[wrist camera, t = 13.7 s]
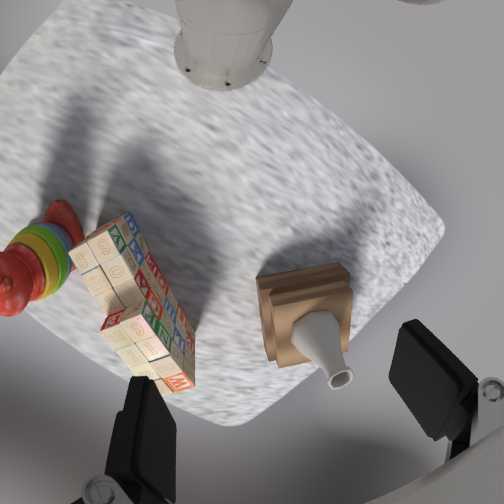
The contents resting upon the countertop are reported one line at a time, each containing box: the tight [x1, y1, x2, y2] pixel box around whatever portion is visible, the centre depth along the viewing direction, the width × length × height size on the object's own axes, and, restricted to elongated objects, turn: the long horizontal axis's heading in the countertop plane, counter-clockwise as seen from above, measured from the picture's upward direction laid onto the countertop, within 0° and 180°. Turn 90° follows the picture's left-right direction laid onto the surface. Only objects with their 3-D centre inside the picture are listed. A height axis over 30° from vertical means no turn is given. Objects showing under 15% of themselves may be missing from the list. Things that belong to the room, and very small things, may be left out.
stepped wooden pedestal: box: [256, 263, 353, 368], centre depth 41 cm, size 13×13×7 cm
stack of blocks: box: [68, 212, 195, 396], centre depth 34 cm, size 21×6×12 cm, turn 21°
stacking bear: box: [0, 200, 83, 317], centre depth 27 cm, size 11×10×18 cm
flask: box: [290, 310, 354, 390], centre depth 33 cm, size 7×7×10 cm
